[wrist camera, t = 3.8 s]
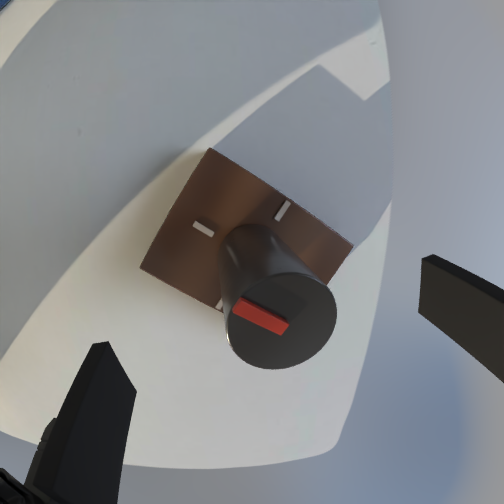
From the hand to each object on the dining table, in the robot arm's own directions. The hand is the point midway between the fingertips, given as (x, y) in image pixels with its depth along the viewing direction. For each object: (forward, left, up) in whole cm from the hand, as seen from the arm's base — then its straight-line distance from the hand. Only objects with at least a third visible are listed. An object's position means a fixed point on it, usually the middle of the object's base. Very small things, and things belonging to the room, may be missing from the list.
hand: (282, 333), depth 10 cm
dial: (0, 0, -9) cm, 9 cm away
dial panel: (0, 0, -12) cm, 12 cm away
